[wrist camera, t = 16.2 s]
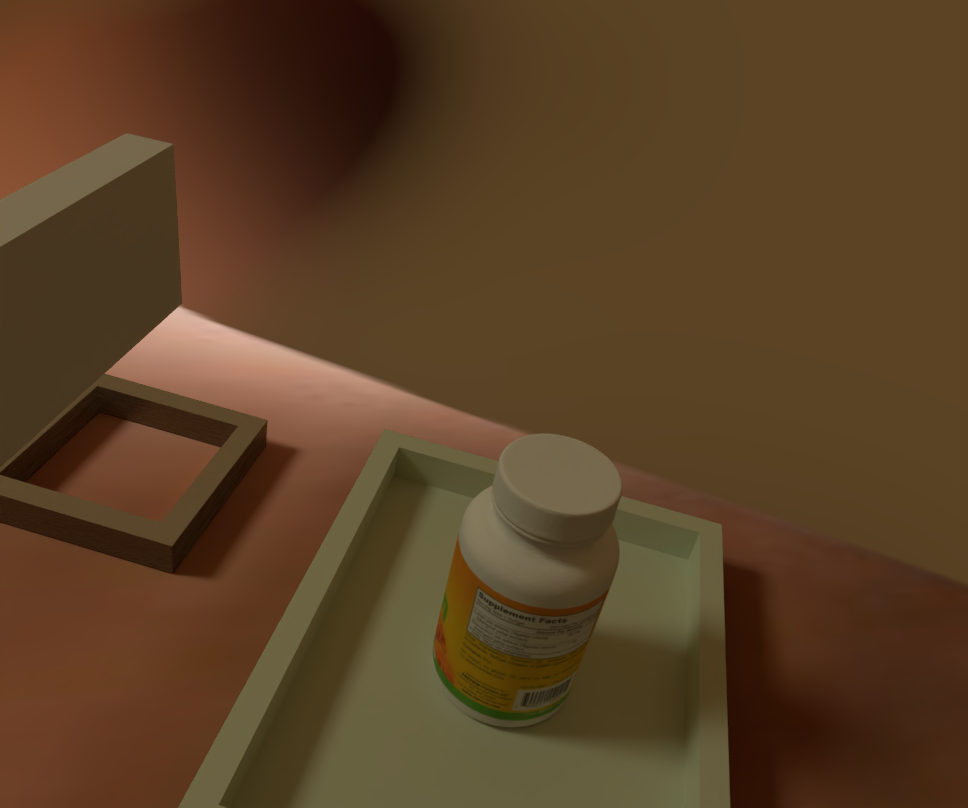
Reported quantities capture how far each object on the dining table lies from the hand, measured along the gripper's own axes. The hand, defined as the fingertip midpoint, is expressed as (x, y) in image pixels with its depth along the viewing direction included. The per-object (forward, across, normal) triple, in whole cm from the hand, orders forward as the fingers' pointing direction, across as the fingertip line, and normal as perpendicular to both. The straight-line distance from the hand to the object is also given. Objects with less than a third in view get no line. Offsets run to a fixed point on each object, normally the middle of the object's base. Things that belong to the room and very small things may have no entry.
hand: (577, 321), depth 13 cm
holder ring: (+15, -18, -21) cm, 31 cm away
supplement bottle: (+10, 0, -20) cm, 23 cm away
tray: (+10, 0, -21) cm, 23 cm away
